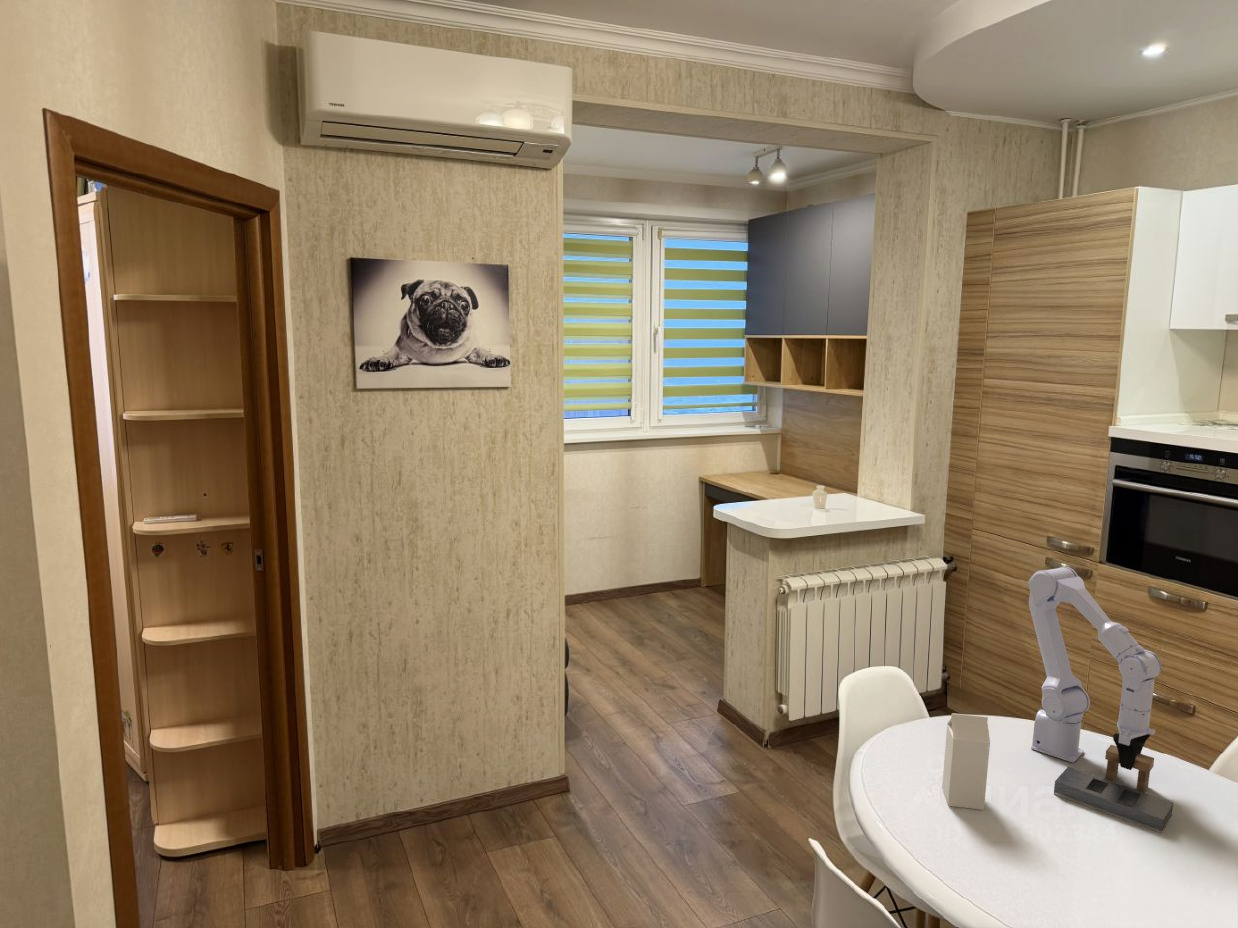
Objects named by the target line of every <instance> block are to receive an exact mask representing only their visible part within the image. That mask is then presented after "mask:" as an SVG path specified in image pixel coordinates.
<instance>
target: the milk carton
mask: <svg viewBox="0 0 1238 928" xmlns="http://www.w3.org/2000/svg"><path fill="white" fill-rule="evenodd" d="M950 716H951V718H950V719H949V721H948V722H947V725H946V736H945V746H944V747H945V748H944V759H943V760H944V761H943V771H942V772H943V774H942V785H941V788H942V791H943V795H944V797H945V800H946V804H947V806H950V807H958V808H965V809H972V810H973V809H974V810H985V803H986V802H985V801H986V791H987V780H988V768H989V758H990V757H989V756H990V746H991V740H990V731H989V725H988V723H989V722H988V721H989V719H988V716H982V715H972V714H962V713H954V712H953V713H951V715H950Z"/></svg>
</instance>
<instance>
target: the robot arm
mask: <svg viewBox="0 0 1238 928" xmlns="http://www.w3.org/2000/svg"><path fill="white" fill-rule="evenodd" d="M1027 584H1028V588H1029V598H1028V607H1029V611H1030V615H1031V619H1032V622H1033V627H1034V630H1035V631H1034V632H1035V634H1036V636H1035V637H1036V639H1037V644H1038V647H1039V651H1040V655H1041V659H1042V663H1043V667H1044V670H1045V675H1046V679H1045V681H1044V682H1043V684H1042V686H1041V692H1042V697H1041V706H1042V709H1039V710H1038V711H1037V713H1036V715H1035V719H1034V724H1033V725H1034V726H1033V736H1032V745H1031V747H1030V749H1031V750H1033V751H1037V752H1040V753H1043V754H1046V755H1048V756H1051V757H1055V758H1057V759H1060V760H1064V761H1067V762H1070V763H1076V761H1077V760H1078V759H1079V758H1080V757H1081V755H1083V753H1084V751H1085V750H1084V749H1082V748H1079V745H1080V737H1081V730H1082V729H1081V728H1082V719H1083V716H1084V713H1086V712H1087V711H1089V708H1090V707H1091V700H1090V697H1089V695H1088V693H1087V692H1086V690H1085V689H1084V687H1083V684H1082V681H1081V680H1080V679H1079V677H1076V676H1075V675H1074V674H1073V671H1072V667H1071V664H1070V660H1069V656H1068V652H1067V648H1066V644H1065V641H1064V637H1063V634H1062V633H1063V632H1062V629H1061V626H1060V621H1059V617H1058V613H1057V611H1056V609H1057V607H1058V606H1059V604H1060V603H1061V602H1063V603H1068V604H1072V606H1073V607H1074V608H1075V609H1076V610H1077V611H1078V612H1079V613H1080V614H1081V615H1082V616H1083V617H1084V618H1086V620H1087V621H1088V622H1090V624H1091V625H1092V626H1093V627H1094V628H1095V629H1096V631H1097V639H1098V640H1099V642H1100V643H1101V644H1102V645H1103V646H1104V648H1105V649H1106V650H1107V651H1108V652H1109V653H1110V655H1112V657H1113V658H1114V659H1115V660H1116V662H1118V670H1119V673H1120V675H1121V677H1122V681H1121V683H1122V687H1121V695H1120V704H1119V712H1118V720H1117V721H1116V726H1117V729H1118V732H1119V733H1117V732H1115V733H1114V734H1113V736H1112V740H1113V742H1114V744H1115V746H1117V749H1118V754H1119V761H1120V764H1119V765H1120V768H1123V769H1126V770H1129V771H1132V770H1133V769H1134V768H1133V766H1134V763H1135V759H1136V756H1137V754H1138V753H1140V754H1142V751H1143V748H1144V746H1145V743H1146V742H1147V740H1148V739H1149V738H1150V736H1154V735H1155V734H1156V730H1155V729H1154V728H1150V720H1151V713H1152V704H1153V697H1154V690H1155V689H1154V687H1155V678H1157V677H1158V676H1159V675H1160V674H1161V672H1162V670H1163V668H1162V666H1163V665H1162V662H1161V660H1160V658H1159V657H1158V655H1157V654H1156V653H1154V652H1152V651H1150V650H1147V649H1145V648H1144V647H1143V646H1142V645H1140V644H1139V643H1138V642H1137V640H1136V639H1135V638H1134V637H1133V636H1132V634H1131V633H1130V632H1129V631H1130V630H1129V629H1128V628H1127V626H1123V625H1122V624H1121V623H1118V622H1115V621H1111V619H1110V618H1109V616H1107V614H1106V613H1105V611H1104V610H1103V609H1102V608H1101V606H1100V605H1099V604H1098V602H1097V601H1096V600H1095V599H1094V598H1093V596H1092V594H1091V593H1090V592H1089V591H1088V590H1087V588H1086V586H1085V582H1084V580H1083V578H1081V576H1079V575H1078V573H1077V571H1075V570H1074V569H1073V568H1072V567H1069V566H1061V567H1058V568H1057V567H1056V568H1052V569H1045V570H1044V569H1043V570H1038V571H1036V572H1034V573H1033V575H1031V577H1030V578H1029V579H1028V581H1027Z"/></svg>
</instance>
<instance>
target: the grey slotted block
mask: <svg viewBox="0 0 1238 928" xmlns="http://www.w3.org/2000/svg"><path fill="white" fill-rule="evenodd" d="M1053 795H1055V796H1058V797H1061V798H1063V799H1066V800H1069V801H1071V802H1074V803H1077V804H1080V805H1083V806H1085V807H1088V808H1091V809H1094V810H1096V811H1099V812H1102V813H1104V814H1107V815H1110V816H1111V817H1112V816H1113V817H1116V818H1118V819H1120V820H1124V821H1126V822H1129V823H1132V824H1134V825H1138V826H1139V827H1143V828H1146V829H1149V830H1152V831H1153V832H1154V831H1155V832H1157V833H1160V834H1163V832H1164V831H1165V828H1166V827H1167V825H1168V824H1169V822H1170V820H1171V818H1172V817H1173V811H1174V809H1173V808H1174V804H1175V802H1174V801H1171V800H1168V799H1166V798H1163V797H1160V796H1156V795H1155V794H1154V795H1153V794H1150V793H1147V792H1146V791H1145V792H1142V791H1139V790H1136V788H1132V787H1129V786H1126V785H1125V784H1121V783H1119V782H1115V781H1114V782H1113V781H1110V780H1107V779H1106V778H1103V777H1100V776H1098V775H1095V774H1092V773H1090V772H1089V773H1088V772H1085V771H1082V770H1080V769H1077V768H1074V767H1071V766H1067V767H1066V768H1065V769H1064V770H1063V772H1061V774H1060V775H1059V776H1058V777H1057V778H1056V779H1055V781H1054V787H1053Z"/></svg>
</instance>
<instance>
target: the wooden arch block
mask: <svg viewBox="0 0 1238 928" xmlns="http://www.w3.org/2000/svg"><path fill="white" fill-rule="evenodd" d="M1105 760H1107V763H1106V769H1105V770H1106V773H1105V779H1107V780H1110V781H1113V782H1115V780H1116V779H1117V778H1118V774H1119V773H1118V772H1119V765H1120V761H1119V754H1118V749H1117V746H1116V745H1114V744H1110V745H1109V746H1108V747H1107V749H1105ZM1154 762H1155V757H1152V756H1149V755H1145V754H1143V753H1141V754H1140V753H1138V754H1137V756H1136V759H1135V763H1134V766H1133V768H1132V769H1135V770H1138V773H1137V780H1136V781H1137V782H1136V788H1135V789H1136V790H1139V791H1142V792H1145V793H1146V791H1147V789H1148V788H1149V784H1150V783H1149V782H1150V774H1151V771H1152V769H1153V768H1154V765H1155V764H1154Z"/></svg>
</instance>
